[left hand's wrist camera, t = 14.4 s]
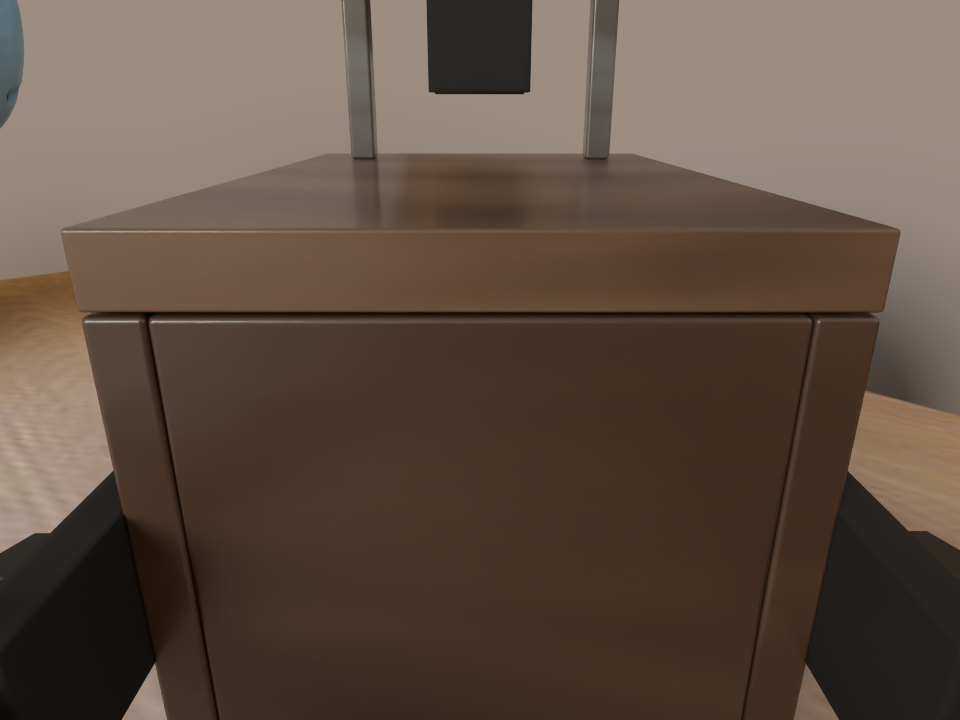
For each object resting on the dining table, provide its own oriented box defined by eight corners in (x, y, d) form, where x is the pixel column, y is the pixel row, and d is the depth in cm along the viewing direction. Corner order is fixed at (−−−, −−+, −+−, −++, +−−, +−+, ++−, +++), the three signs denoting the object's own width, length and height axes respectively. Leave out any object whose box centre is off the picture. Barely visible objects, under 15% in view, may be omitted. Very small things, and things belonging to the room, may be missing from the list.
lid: (329, 186, 23) (306, -120, 20) (630, 186, 23) (654, -120, 20) (76, 313, 8) (-147, -723, 5) (884, 313, 8) (1111, -723, 5)
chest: (347, 465, 26) (326, 188, 22) (612, 465, 26) (634, 188, 22) (197, 869, 12) (77, 317, 8) (763, 869, 12) (884, 317, 8)
